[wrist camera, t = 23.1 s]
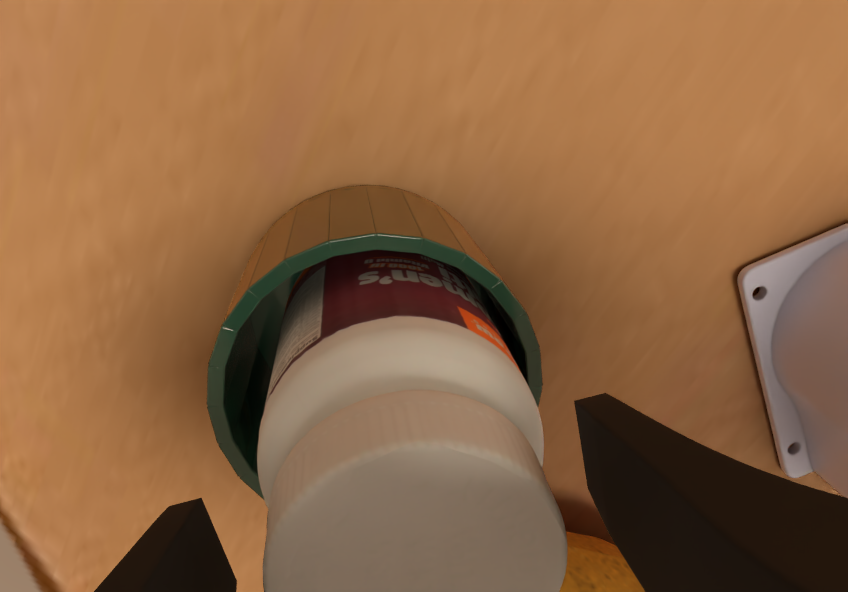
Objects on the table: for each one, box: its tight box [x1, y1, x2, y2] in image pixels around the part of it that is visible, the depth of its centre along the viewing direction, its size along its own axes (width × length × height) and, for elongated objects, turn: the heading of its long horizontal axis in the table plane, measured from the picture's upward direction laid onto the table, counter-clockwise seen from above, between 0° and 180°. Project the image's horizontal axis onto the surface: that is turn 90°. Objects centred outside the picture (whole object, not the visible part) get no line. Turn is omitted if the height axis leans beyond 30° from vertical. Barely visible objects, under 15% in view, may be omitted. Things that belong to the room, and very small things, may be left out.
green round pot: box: [207, 185, 543, 499], centre depth 19 cm, size 8×8×6 cm
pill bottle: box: [257, 250, 568, 592], centre depth 16 cm, size 6×6×11 cm
